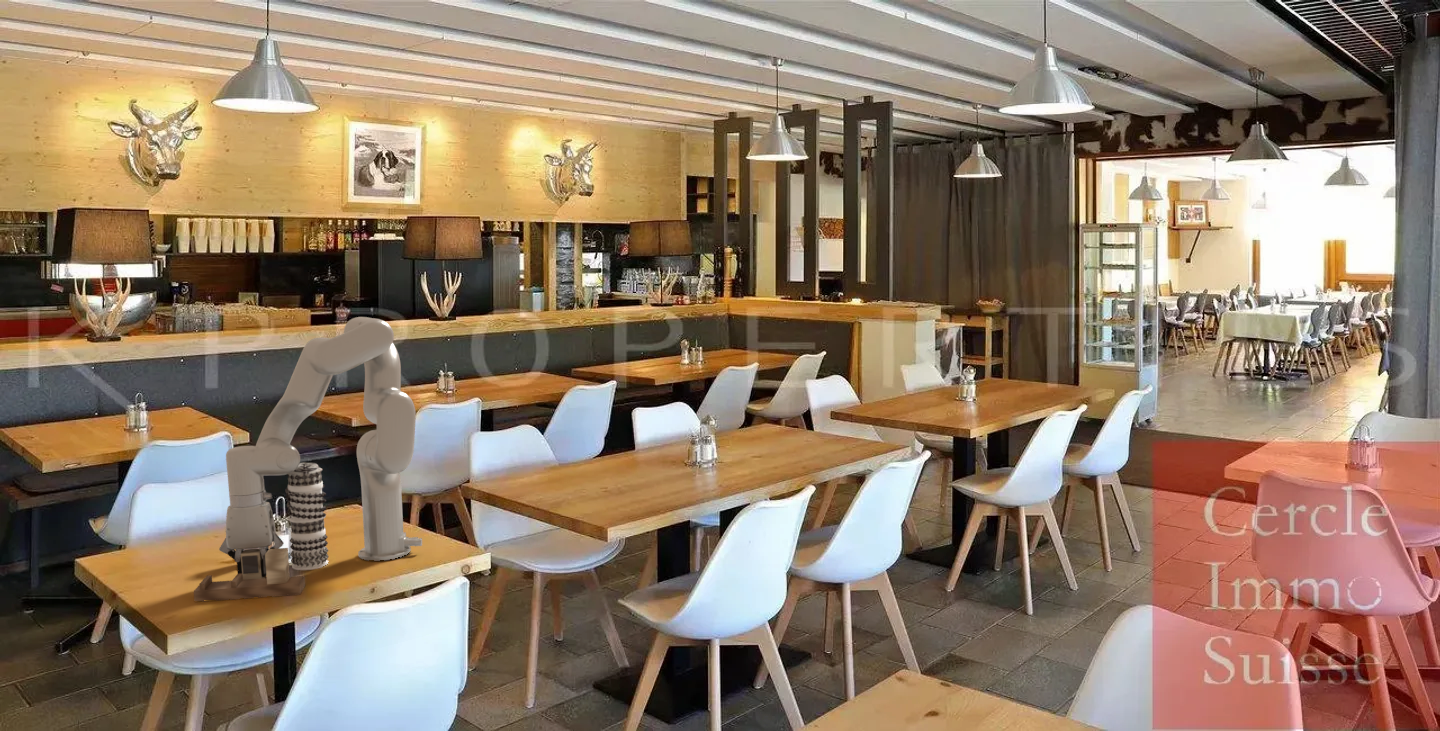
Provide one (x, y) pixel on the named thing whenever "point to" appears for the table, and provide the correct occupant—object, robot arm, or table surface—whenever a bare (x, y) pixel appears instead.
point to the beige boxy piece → (251, 564)
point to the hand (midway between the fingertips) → (254, 575)
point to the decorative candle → (307, 517)
